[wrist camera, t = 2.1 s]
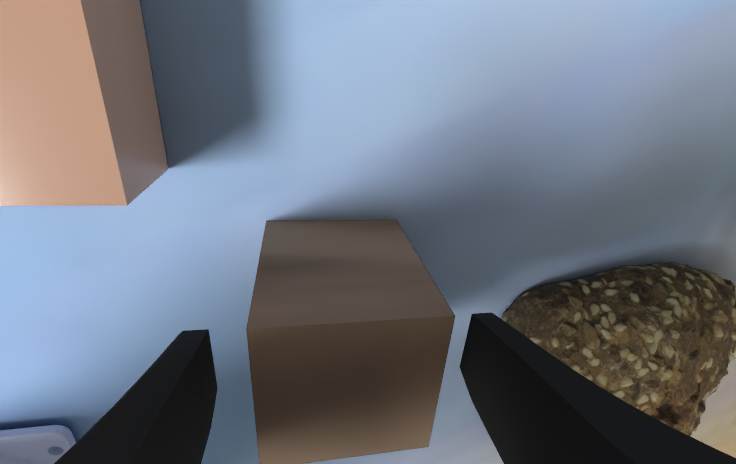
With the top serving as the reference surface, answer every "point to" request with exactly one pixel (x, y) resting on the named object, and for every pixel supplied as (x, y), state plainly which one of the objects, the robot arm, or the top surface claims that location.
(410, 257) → the walnut block
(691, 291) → the bread roll
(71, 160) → the terracotta tile
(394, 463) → the top surface
